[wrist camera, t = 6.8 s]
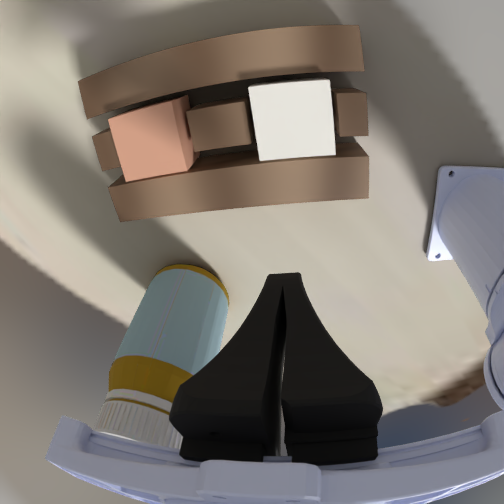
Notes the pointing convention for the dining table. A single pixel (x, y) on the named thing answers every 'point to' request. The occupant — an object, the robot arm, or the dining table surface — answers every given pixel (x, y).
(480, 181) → the robot arm
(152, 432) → the bottle
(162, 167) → the terracotta key
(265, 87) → the cream key
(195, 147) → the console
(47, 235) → the dining table surface
